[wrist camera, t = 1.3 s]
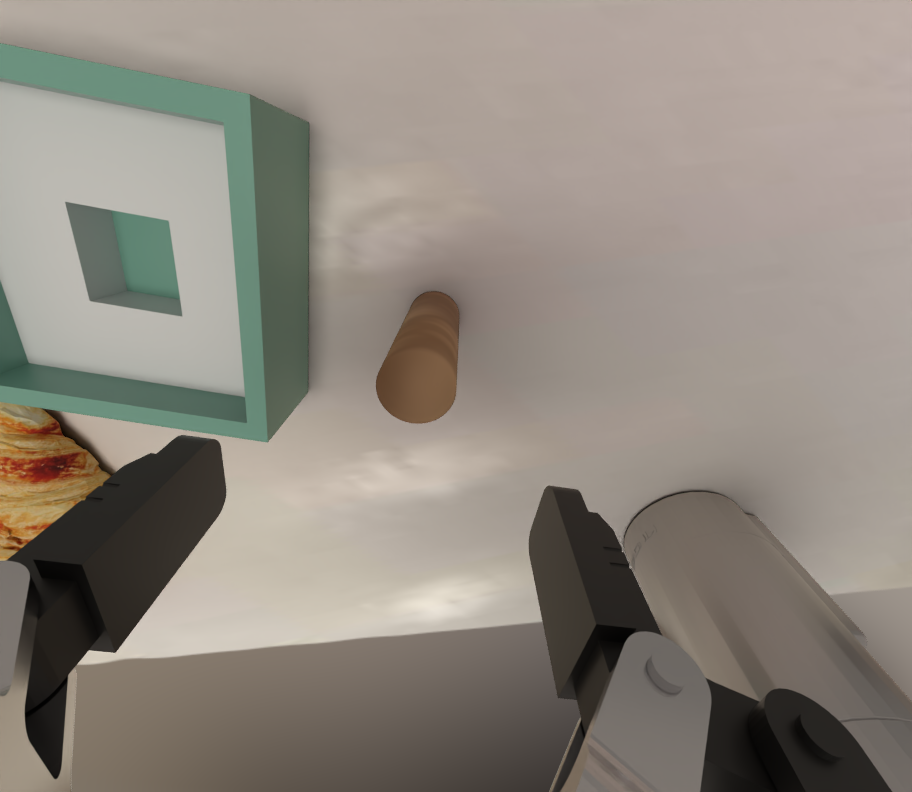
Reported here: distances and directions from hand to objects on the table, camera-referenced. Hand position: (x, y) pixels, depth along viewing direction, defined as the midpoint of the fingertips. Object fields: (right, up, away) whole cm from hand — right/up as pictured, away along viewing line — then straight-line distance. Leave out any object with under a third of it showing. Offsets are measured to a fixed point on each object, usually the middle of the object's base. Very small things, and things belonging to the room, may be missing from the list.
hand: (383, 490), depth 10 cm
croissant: (-27, -6, +22) cm, 35 cm away
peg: (0, +7, +14) cm, 16 cm away
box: (-14, +10, +12) cm, 21 cm away
